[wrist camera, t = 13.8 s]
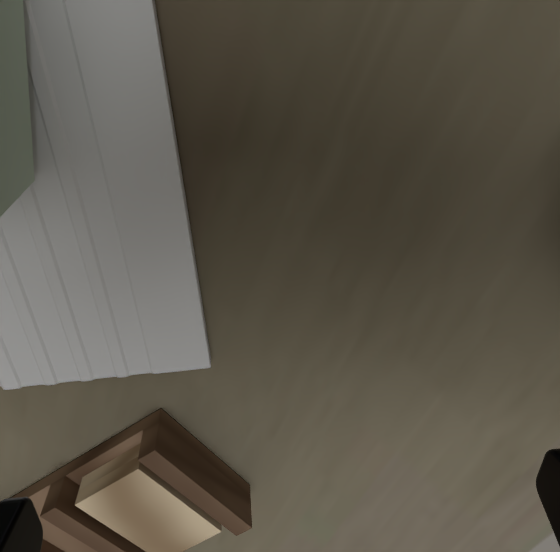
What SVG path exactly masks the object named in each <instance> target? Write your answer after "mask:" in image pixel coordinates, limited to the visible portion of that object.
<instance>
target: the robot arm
mask: <svg viewBox="0 0 560 552" xmlns="http://www.w3.org/2000/svg"><path fill="white" fill-rule="evenodd" d="M536 487H537V491H538V494H539V497H540V499H541V502H542V504H543V507H544V509H545V512H546V514H547V517H548V519H549V521H550V524H551V526H552V529H553V531H554V534H555V536H556V539H557V541H558V544H559V546H560V449H551V450H549V451H547V452H546V454H545V456H544V459H543V462H542V464H541V467H540V470H539V472H538V475H537V478H536ZM42 541H43V527H42V524H41V521H40V519H39V517H38V514H37V512H36V509H35V507H34V504H33V502H32V500H31V499H30V498H28V497H18V498H8V499H4V500H3V501H1V502H0V552H41V547H42Z"/></svg>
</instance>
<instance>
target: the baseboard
mask: <svg viewBox="0 0 560 552" xmlns="http://www.w3.org/2000/svg"><path fill="white" fill-rule="evenodd" d="M23 9H24V24H25V40H26V55H27V70H28V86H29V101H30V117H31V132H32V147H33V163H34V178H35V181H34V182H33V183H32V184H31V185H30V186H29V187H28V188H27V189H26V190H25V191H24V192H23V193H22V195H21V196H20V197H19V198H18V199H17V200H16V201H15V202H14V203H13V204H12V205H11V206H10V207H9V208H8V209H7V210H6V211H5V213H4V214H3V215H2V216H1V217H0V386H1V387H2V388H3V389H4V390H8V389H18V388H21V387H24V386H34V385H43V384H45V385H55V384H57V383H61V382H71V381H82V382H83V381H92V380H94V379H98V378H108V377H118V378H120V377H128V376H129V375H136V374H145V373H153V374H157V373H166V372H176V371H185V370H194V369H203V368H211V355H210V349H209V342H208V336H207V330H206V323H205V317H204V311H203V304H202V298H201V292H200V285H199V279H198V273H197V266H196V260H195V254H194V247H193V241H192V235H191V228H190V222H189V215H188V209H187V203H186V196H185V190H184V184H183V177H182V171H181V165H180V158H179V152H178V146H177V139H176V133H175V127H174V120H173V114H172V108H171V101H170V95H169V89H168V82H167V76H166V70H165V63H164V57H163V51H162V44H161V38H160V32H159V25H158V19H157V13H156V6H155V0H23Z"/></svg>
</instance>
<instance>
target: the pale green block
mask: <svg viewBox="0 0 560 552" xmlns="http://www.w3.org/2000/svg"><path fill="white" fill-rule="evenodd" d="M34 181H35V178H34V163H33V147H32V132H31V117H30V101H29V86H28V70H27V55H26V40H25V24H24V9H23V0H0V217H1V216H2V215H3V214H4V213H5V211H6V210H7V209H8V208H9V207H10V206H11V205H12V204H13V203H14V202H15V201H16V200H17V199H18V198H19V197H20V196H21V195H22V193H23V192H24V191H25V190H26V189H27V188H28V187H29V186H30V185H31V184H32V183H33V182H34Z"/></svg>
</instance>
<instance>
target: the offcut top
mask: <svg viewBox="0 0 560 552" xmlns="http://www.w3.org/2000/svg"><path fill="white" fill-rule="evenodd" d="M75 506H76V507H78V508H80V509H81V510H83V511H84V512H86V513H87V514H89V515H90V516H92V517H93V518H95V519H96V520H98V521H100V522H101V523H103V524H104V525H106V526H107V527H109V528H110V529H112V530H113V531H115V532H116V533H118V534H120V535H121V536H123V537H124V538H126V539H127V540H129V541H130V542H132V543H133V544H135V545H136V546H138V547H140V548H141V549H143V550H144V551H146V552H183V551H184V550H186V549H188V548H190V547H192V546H194V545H196V544H198V543H200V542H202V541H204V540H206V539H208V538H210V537H212V536H214V535H216V534H218V533H220V532H221V524H220V523H219V522H218V521H216V520H215V519H214V518H212V517H211V516H210V515H209V514H207V513H206V512H205V511H203V510H202V509H201V508H199V507H198V506H197V505H195V504H194V503H193V502H192V501H190V500H189V499H188V498H186V497H185V496H184V495H182V494H181V493H180V492H179V491H177V490H176V489H175V488H173V487H172V486H171V485H169V484H168V483H167V482H165V481H164V480H163V479H162V478H160V477H159V476H158V475H156V474H155V473H154V472H152V471H151V470H150V469H149V468H147V467H146V466H145V465H143V464H142V463H141V462H139V461H138V457H136V458H135V459H133V460H131V461H129V462H128V463H126V464H124V465H122V466H121V467H119V468H117V469H116V470H114V471H112V472H110V473H109V474H107V475H105V476H103V477H102V478H100V479H98V480H96V481H95V482H93V483H91V484H90V485H88V486H86V487H84V488H83V489H81V490H79V491H78V495H77V498H76V502H75Z"/></svg>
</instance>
